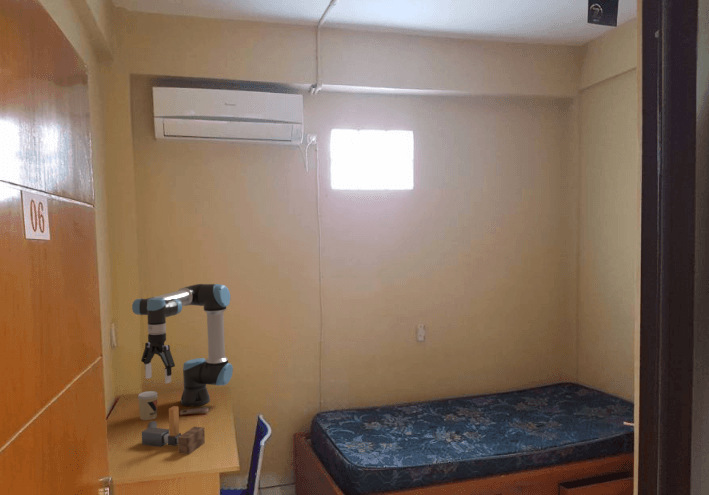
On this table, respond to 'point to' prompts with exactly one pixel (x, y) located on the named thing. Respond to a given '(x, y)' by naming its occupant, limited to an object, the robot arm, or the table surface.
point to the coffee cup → (148, 405)
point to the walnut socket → (191, 440)
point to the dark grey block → (153, 436)
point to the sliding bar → (172, 427)
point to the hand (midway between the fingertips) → (158, 380)
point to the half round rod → (152, 424)
